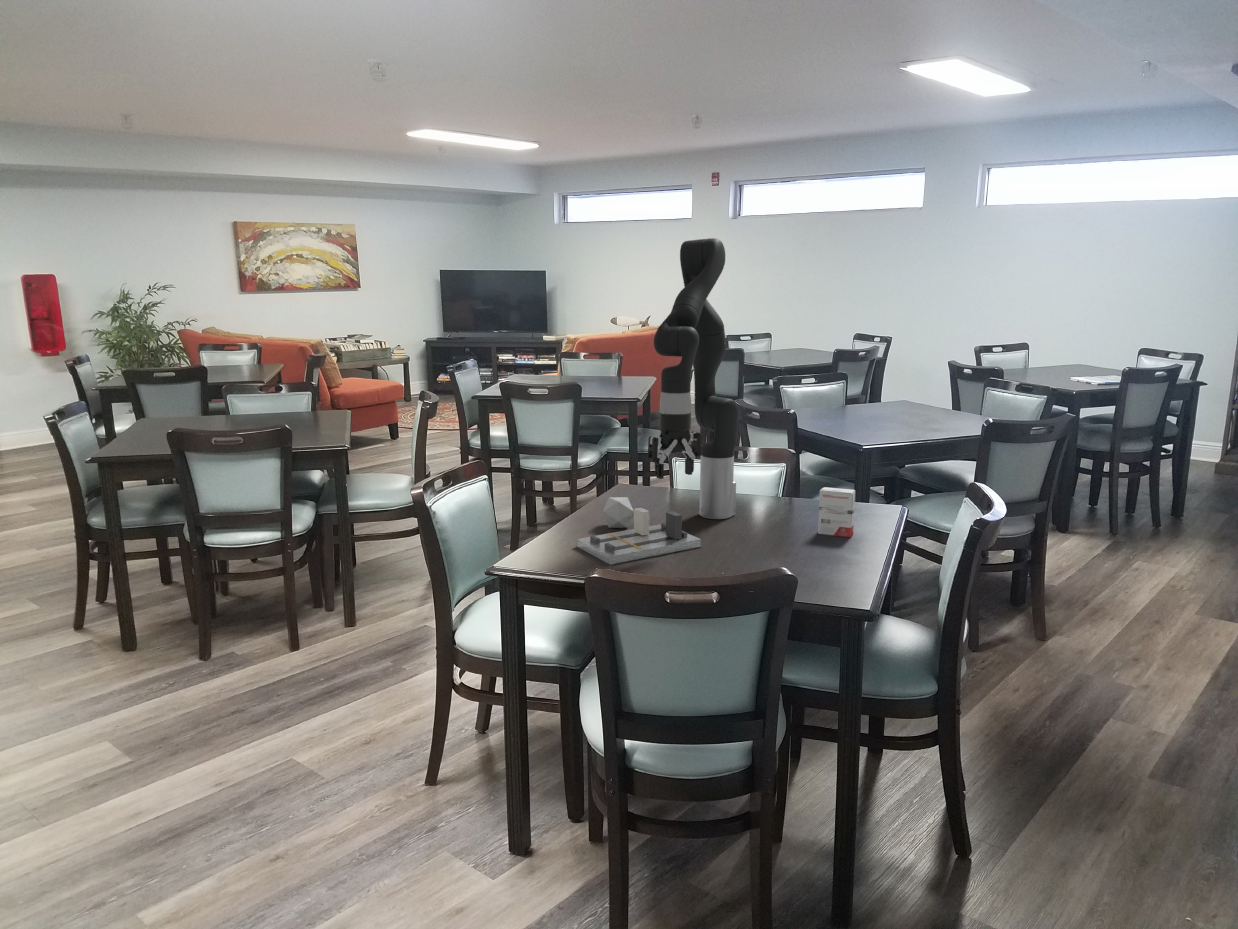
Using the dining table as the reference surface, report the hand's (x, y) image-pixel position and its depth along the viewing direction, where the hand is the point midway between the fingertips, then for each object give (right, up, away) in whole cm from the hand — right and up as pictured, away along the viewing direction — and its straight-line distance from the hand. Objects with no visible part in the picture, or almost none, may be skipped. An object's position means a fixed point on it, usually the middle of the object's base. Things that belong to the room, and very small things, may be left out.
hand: (674, 476), depth 205 cm
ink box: (+43, -15, +14) cm, 48 cm away
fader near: (0, -15, +3) cm, 15 cm away
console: (-9, -17, +3) cm, 20 cm away
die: (-14, -14, +20) cm, 28 cm away
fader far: (-8, -14, +7) cm, 18 cm away
